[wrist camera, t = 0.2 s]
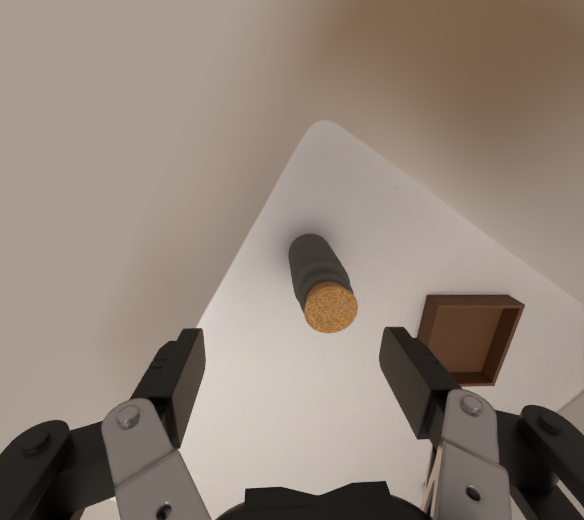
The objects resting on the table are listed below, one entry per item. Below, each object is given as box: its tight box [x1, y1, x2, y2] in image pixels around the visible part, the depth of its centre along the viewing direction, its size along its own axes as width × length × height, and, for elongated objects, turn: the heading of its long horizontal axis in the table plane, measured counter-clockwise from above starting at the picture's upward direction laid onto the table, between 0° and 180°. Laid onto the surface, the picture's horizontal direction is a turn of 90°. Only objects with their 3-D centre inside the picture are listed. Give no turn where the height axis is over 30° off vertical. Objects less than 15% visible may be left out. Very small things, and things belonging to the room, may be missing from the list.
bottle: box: [289, 234, 358, 333], centre depth 31 cm, size 6×6×15 cm
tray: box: [417, 295, 525, 387], centre depth 43 cm, size 15×13×3 cm
